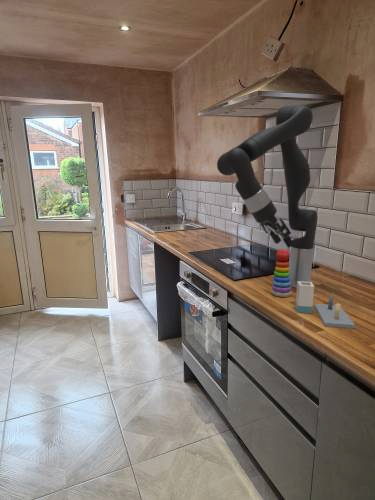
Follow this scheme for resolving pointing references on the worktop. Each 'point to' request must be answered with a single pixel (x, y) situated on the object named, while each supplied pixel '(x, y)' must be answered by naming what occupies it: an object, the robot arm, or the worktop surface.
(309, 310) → the sleeve
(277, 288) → the stacking toy
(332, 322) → the pin board
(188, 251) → the worktop surface
